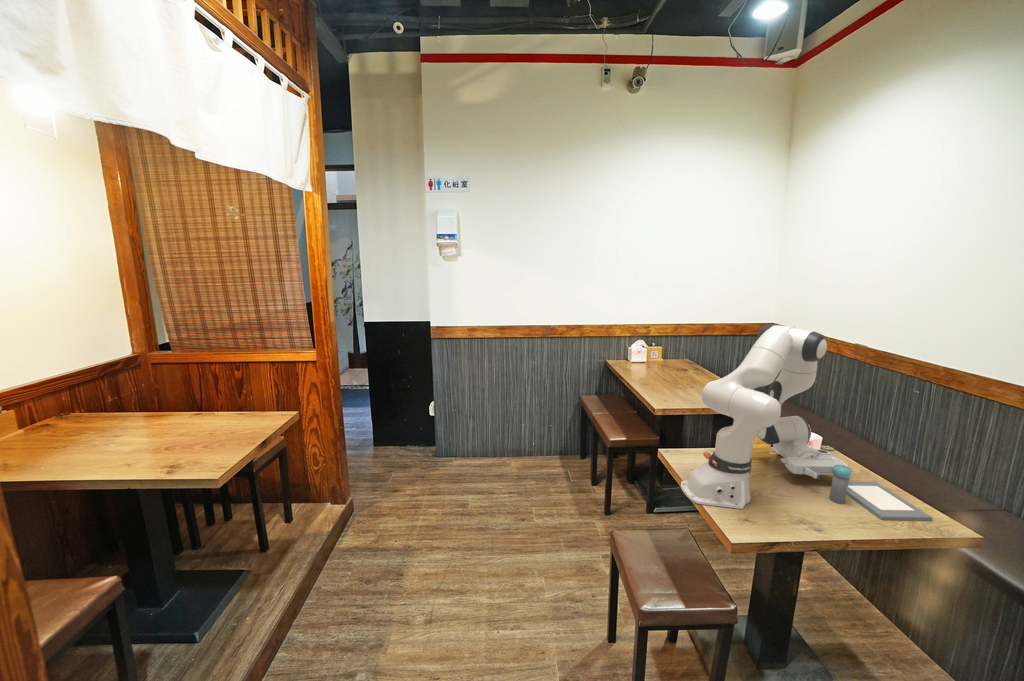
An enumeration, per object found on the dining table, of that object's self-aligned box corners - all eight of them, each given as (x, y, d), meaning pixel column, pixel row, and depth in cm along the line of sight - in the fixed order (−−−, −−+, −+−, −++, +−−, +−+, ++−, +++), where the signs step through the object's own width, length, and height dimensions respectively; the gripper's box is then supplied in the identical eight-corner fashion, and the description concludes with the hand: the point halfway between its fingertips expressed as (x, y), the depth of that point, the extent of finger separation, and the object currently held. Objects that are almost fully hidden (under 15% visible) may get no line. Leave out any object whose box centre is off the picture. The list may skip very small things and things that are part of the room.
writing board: (881, 519, 137) (882, 515, 137) (831, 483, 159) (832, 480, 159) (931, 520, 137) (932, 516, 137) (875, 484, 159) (876, 481, 158)
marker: (835, 504, 146) (841, 471, 143) (825, 496, 150) (830, 464, 148) (849, 504, 146) (855, 471, 143) (839, 496, 150) (844, 464, 148)
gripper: (779, 450, 164) (802, 468, 150) (833, 451, 164) (861, 469, 150) (776, 465, 165) (800, 484, 151) (830, 466, 165) (858, 485, 151)
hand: (831, 477), depth 151 cm, fingers open, 8 cm apart
